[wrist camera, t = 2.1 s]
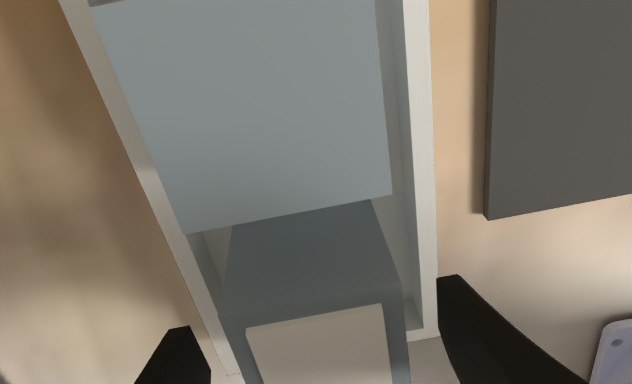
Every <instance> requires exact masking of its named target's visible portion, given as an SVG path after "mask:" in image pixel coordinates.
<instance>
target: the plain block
mask: <svg viewBox="0 0 632 384" xmlns="http://www.w3.org/2000/svg"><path fill="white" fill-rule="evenodd" d="M88 10H89V12H90V14H91V17H92V19H93V21H94V24H95V26H96V29H97V31H98V33H99V36H100V38H101V40H102V43H103V45H104V48H105V50H106V52H107V55H108V57H109V59H110V62H111V64H112V67H113V69H114V71H115V74H116V76H117V78H118V81H119V83H120V86H121V88H122V90H123V93H124V95H125V97H126V100H127V102H128V105H129V107H130V109H131V112H132V114H133V117H134V119H135V121H136V124H137V126H138V128H139V131H140V133H141V136H142V138H143V140H144V143H145V145H146V147H147V150H148V152H149V155H150V157H151V159H152V162H153V164H154V166H155V169H156V171H157V174H158V176H159V178H160V181H161V183H162V185H163V188H164V190H165V193H166V195H167V197H168V200H169V202H170V204H171V207H172V209H173V212H174V214H175V216H176V219H177V221H178V224H179V226H180V228H181V231H182V233H183V235H185V234H191V233H196V232H201V231H206V230H211V229H217V228H222V227H227V226H232V225H237V224H243V223H248V222H253V221H258V220H263V219H268V218H274V217H279V216H284V215H289V214H294V213H300V212H305V211H310V210H315V209H320V208H326V207H331V206H336V205H341V204H346V203H351V202H357V201H362V200H367V199H372V198H377V197H383V196H388V195H393V191H392V181H391V170H390V160H389V150H388V139H387V129H386V119H385V108H384V98H383V87H382V77H381V67H380V56H379V46H378V36H377V25H376V15H375V4H374V0H112V1H109V2H105V3H102V4H99V5H96V6H92V7H89V8H88Z"/></svg>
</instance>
